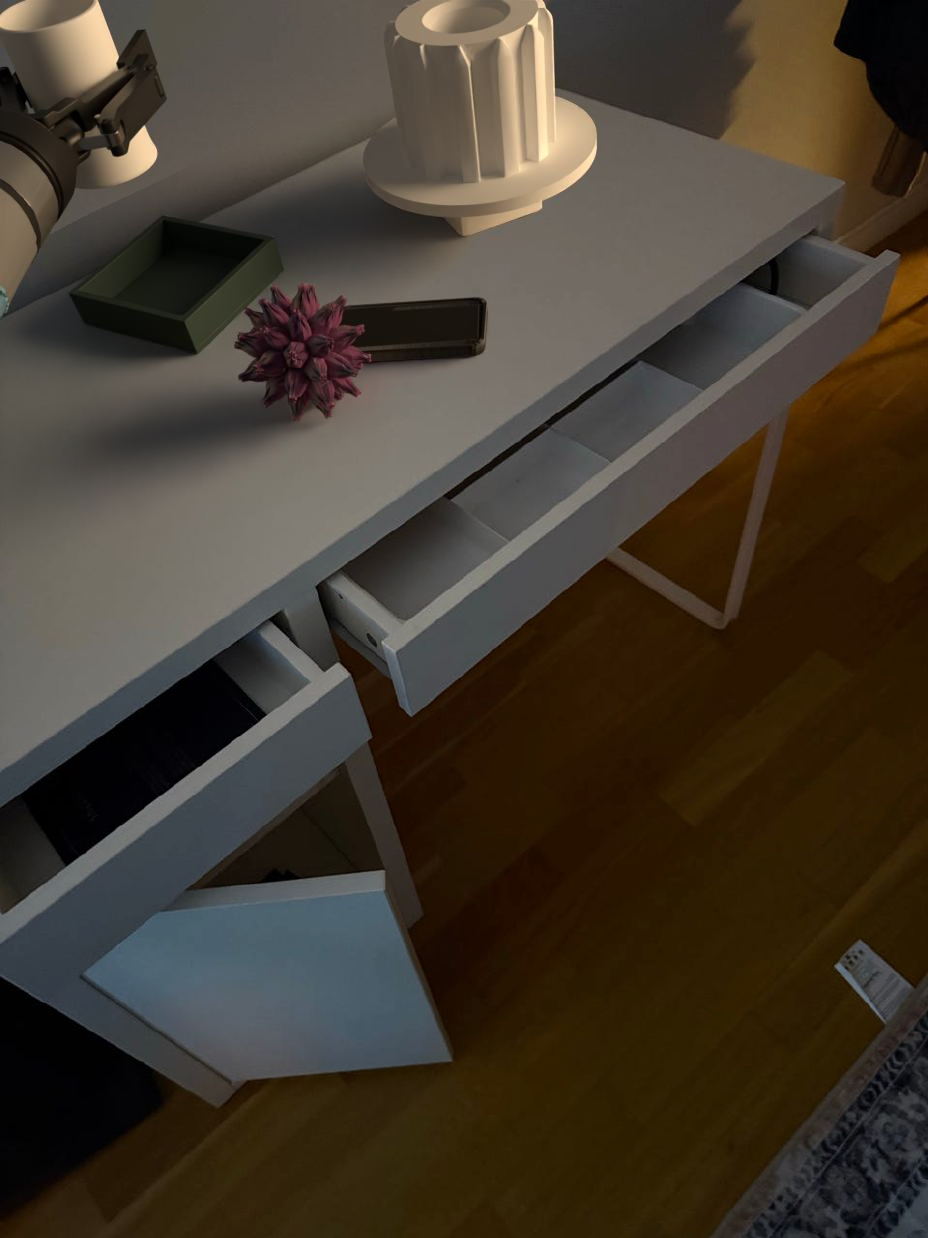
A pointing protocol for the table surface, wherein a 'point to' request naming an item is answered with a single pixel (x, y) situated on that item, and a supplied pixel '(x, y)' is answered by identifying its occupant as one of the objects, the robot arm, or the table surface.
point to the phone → (419, 328)
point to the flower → (302, 351)
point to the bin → (178, 283)
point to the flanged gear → (476, 115)
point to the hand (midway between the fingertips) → (99, 51)
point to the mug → (70, 73)
